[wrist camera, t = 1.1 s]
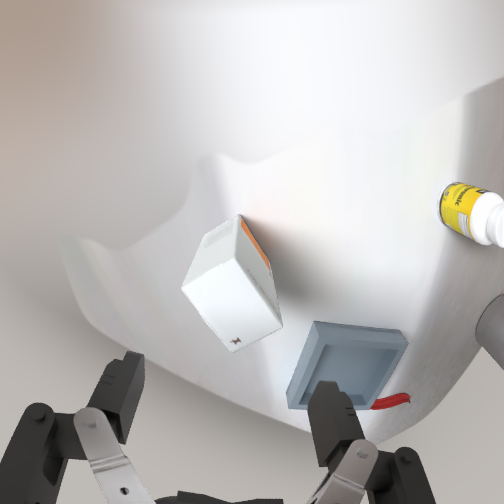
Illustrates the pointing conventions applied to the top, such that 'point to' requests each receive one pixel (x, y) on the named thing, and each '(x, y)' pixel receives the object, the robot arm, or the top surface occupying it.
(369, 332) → the tray
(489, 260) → the top surface
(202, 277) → the skincare box
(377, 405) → the cayenne pepper
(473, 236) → the supplement bottle
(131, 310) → the top surface
